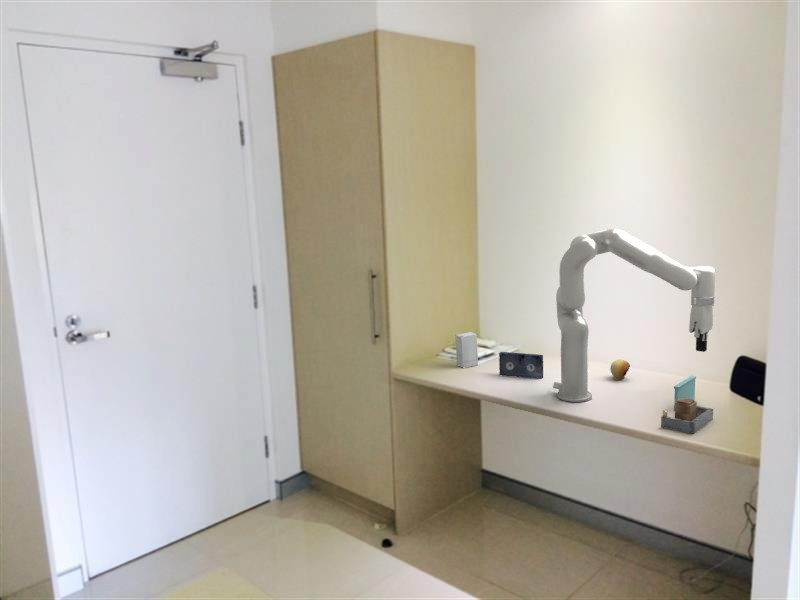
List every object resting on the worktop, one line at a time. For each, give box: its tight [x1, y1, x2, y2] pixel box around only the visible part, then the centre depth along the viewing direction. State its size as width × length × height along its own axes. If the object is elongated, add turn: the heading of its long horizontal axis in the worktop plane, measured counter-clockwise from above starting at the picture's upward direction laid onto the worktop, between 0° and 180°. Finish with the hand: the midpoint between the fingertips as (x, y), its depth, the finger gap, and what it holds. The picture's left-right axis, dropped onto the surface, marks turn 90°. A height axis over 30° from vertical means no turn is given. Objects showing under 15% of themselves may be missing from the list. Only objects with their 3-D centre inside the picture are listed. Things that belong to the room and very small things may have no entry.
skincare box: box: [455, 331, 479, 368], centre depth 289 cm, size 8×6×15 cm
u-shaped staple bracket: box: [660, 405, 714, 435], centre depth 210 cm, size 10×17×6 cm, turn 134°
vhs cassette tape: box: [498, 351, 544, 380], centre depth 269 cm, size 18×3×10 cm, turn 63°
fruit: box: [609, 359, 631, 380], centre depth 259 cm, size 8×8×8 cm
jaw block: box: [674, 398, 698, 421], centre depth 211 cm, size 5×5×8 cm
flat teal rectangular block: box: [673, 375, 697, 412], centre depth 226 cm, size 2×15×9 cm, turn 135°
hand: (701, 350), depth 233 cm, fingers closed
